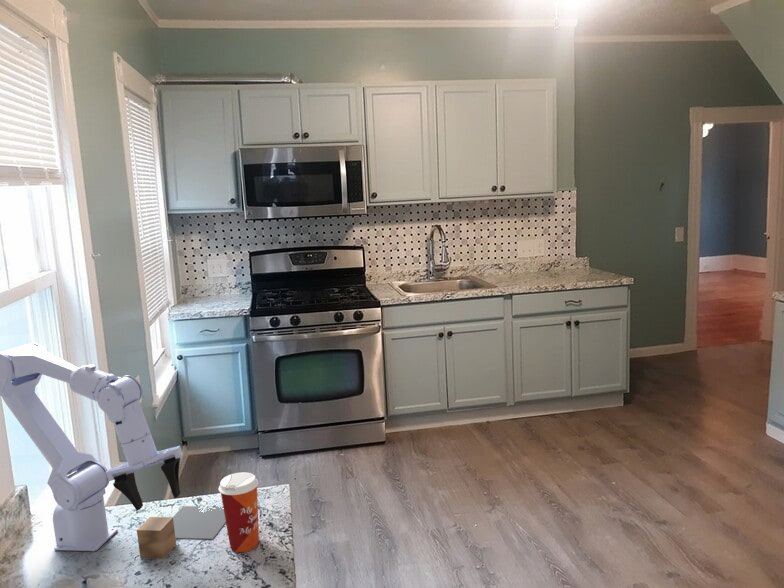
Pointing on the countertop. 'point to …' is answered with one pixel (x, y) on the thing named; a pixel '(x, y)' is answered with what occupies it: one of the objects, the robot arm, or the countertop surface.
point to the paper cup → (241, 510)
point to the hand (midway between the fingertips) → (158, 501)
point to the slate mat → (198, 522)
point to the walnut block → (156, 537)
